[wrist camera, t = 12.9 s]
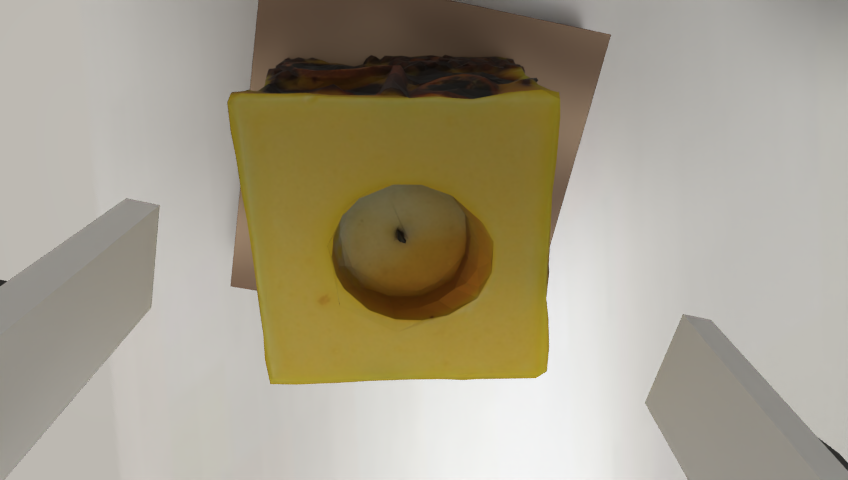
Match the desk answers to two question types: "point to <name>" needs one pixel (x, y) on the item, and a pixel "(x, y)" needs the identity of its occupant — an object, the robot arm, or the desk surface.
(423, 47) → the walnut block
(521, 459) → the desk surface
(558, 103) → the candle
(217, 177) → the desk surface
